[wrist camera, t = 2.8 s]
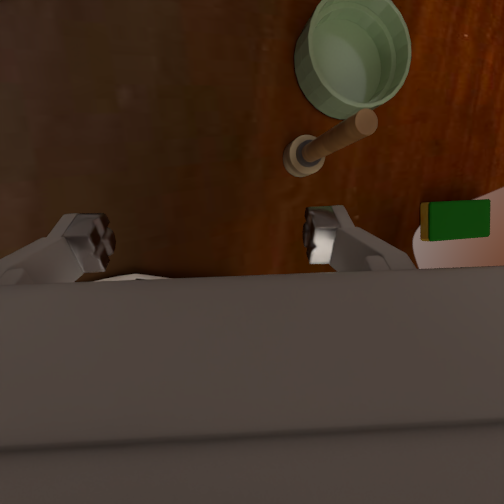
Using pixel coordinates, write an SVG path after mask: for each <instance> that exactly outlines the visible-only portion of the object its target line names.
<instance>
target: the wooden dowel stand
mask: <svg viewBox="0 0 504 504" xmlns="http://www.w3.org/2000/svg"><path fill="white" fill-rule="evenodd" d="M377 125H378V120H377V116H376V114H375V113H374V112H373V111H372V110H370V109H366V108H365V109H361V110H360V111H358V112H356V113H355V114H353V115H352V116H350V117H349V118H347V119H345V120H344V121H342V122H341V123H339V124H338V125H336V126H334V127H333V128H331V129H330V130H328V131H327V132H325V133H324V134H322V135H320V136H319V137H317V138H316V137H314V136H311V135H302V136H299V137H298V138H296V139H295V140H294V141H292V142H291V143H290V144H288V145H287V147H286V148H285V150H284V153H283V163H284V166H285V168H286V170H287V171H288V172H289V173H290V174H292V175H293V176H296V177H305V176H307V175H310V174H312V173H315V172H317V171H318V170H319V169H320V168H321V167H322V165H323V163H324V160H325V156H327V155H329V154H331V153H333V152H335V151H337V150H339V149H341V148H343V147H345V146H348V145H350V144H352V143H354V142H356V141H358V140H360V139H362V138H364V137H366V136H368V135H371V134H372V133H374V131H375V130H376V128H377Z"/></svg>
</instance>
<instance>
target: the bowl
mask: <svg viewBox="0 0 504 504" xmlns="http://www.w3.org/2000/svg"><path fill="white" fill-rule="evenodd" d="M294 61H295V72H296V76H297V79H298V82H299V85H300V88H301V89H302V91H303V93H304V95H305V96H306V98H307V99H308V100H309V101H310V102H311V103H312V105H313V106H314V107H315V108H317V109H318V110H319V111H321V112H323V113H324V114H326V115H327V116H330V117H333V118H337V119H347V118H349V117H350V116H352V115H353V114H355V113H356V112H358V111H360V110H361V109H365V108H366V109H370V110H373V109H375V108H377V107H378V106H380V105H382V104H383V103H385V102H386V101H388V100H389V99H391V98H392V97H393V96H394V95H395V94H396V93H397V92H398V90H399V89H400V88H401V87H402V85H403V83H404V81H405V79H406V77H407V74H408V72H409V67H410V61H411V41H410V37H409V32H408V28H407V25H406V23H405V21H404V19H403V17H402V15H401V13H400V12H399V10H398V9H397V8H396V6H395V5H394V4H393V3H392V1H391V0H322V1H321V2H320V3H319V4H318V5H317V7H316V9H315V10H314V12H313V13H312V15H311V16H310V18H309V20H308V21H307V23H306V24H305V26H304V28H303V29H302V31H301V33H300V36H299V38H298V40H297V43H296V49H295V54H294Z"/></svg>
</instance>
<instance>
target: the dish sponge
mask: <svg viewBox="0 0 504 504" xmlns="http://www.w3.org/2000/svg"><path fill="white" fill-rule="evenodd" d="M420 213H421V240H422V241H442V240H454V239H465V238H478V237H488V236H489V235H490V200H489V199H485V200H463V201H442V202H426V203H422V204H421V205H420Z"/></svg>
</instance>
